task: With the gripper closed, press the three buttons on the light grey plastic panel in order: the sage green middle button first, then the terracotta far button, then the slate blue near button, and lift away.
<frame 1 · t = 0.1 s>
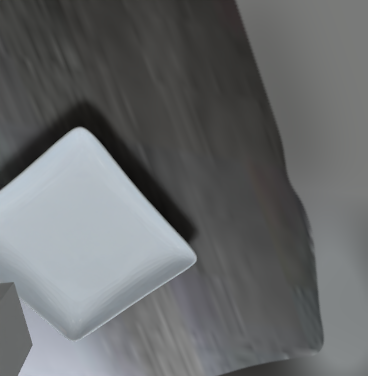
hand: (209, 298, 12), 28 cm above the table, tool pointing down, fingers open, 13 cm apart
salad plate: (83, 234, 42), on the table
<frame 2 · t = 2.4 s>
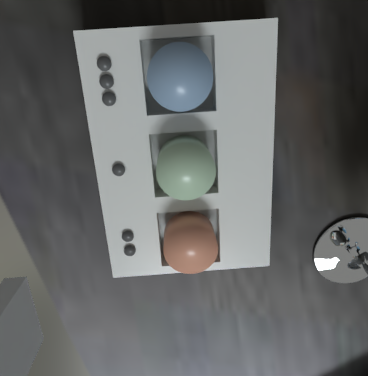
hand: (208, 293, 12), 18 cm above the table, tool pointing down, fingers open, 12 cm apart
slate button: (179, 77, 23), point 4 cm above the table, slide at 0.0 cm
wineglass: (349, 249, 33), on the table
button panel: (183, 154, 29), on the table
sage button: (185, 166, 26), point 4 cm above the table, slide at 0.0 cm
terracotta button: (189, 241, 28), point 4 cm above the table, slide at 0.0 cm
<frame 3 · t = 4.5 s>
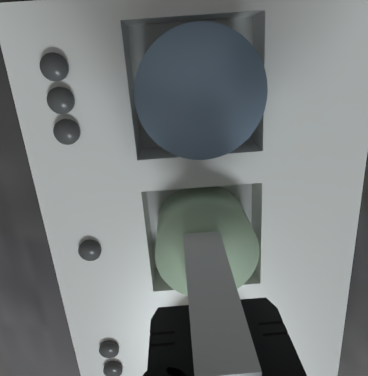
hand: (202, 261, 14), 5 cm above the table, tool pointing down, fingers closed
slate button: (198, 91, 12), point 4 cm above the table, slide at 0.0 cm
button panel: (199, 212, 18), on the table
sage button: (204, 239, 15), point 3 cm above the table, slide at 0.7 cm, touching gripper
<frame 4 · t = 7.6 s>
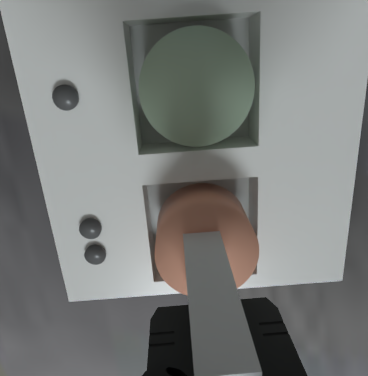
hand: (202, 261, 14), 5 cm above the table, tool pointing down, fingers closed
button panel: (191, 83, 16), on the table
sage button: (194, 87, 14), point 3 cm above the table, slide at 1.1 cm
terracotta button: (204, 238, 15), point 4 cm above the table, slide at 0.0 cm, touching gripper
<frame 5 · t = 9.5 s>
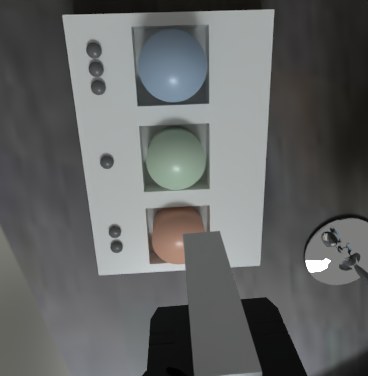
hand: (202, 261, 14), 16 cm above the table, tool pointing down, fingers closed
slate button: (172, 66, 23), point 4 cm above the table, slide at 0.0 cm
wineglass: (340, 250, 33), on the table
button panel: (174, 149, 28), on the table
sage button: (175, 157, 26), point 3 cm above the table, slide at 1.1 cm
terracotta button: (178, 232, 28), point 3 cm above the table, slide at 1.1 cm
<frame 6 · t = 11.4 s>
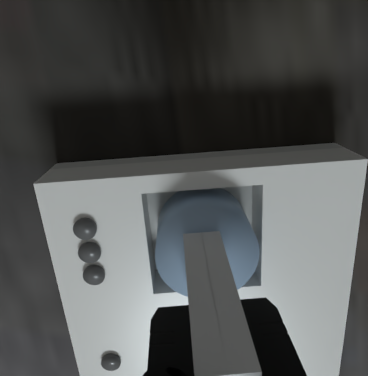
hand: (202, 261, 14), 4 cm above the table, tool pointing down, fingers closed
slate button: (204, 240, 15), point 3 cm above the table, slide at 0.8 cm, touching gripper
button panel: (205, 312, 20), on the table
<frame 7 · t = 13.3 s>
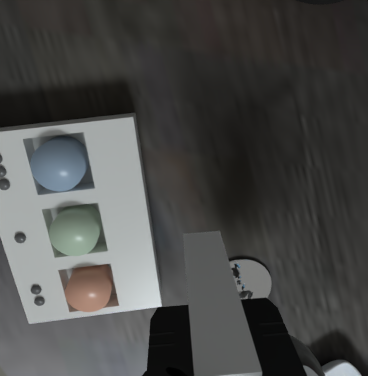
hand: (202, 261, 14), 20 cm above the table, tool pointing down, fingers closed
slate button: (61, 163, 30), point 3 cm above the table, slide at 1.1 cm
wineglass: (238, 284, 39), on the table
button panel: (82, 217, 35), on the table
sage button: (77, 228, 32), point 3 cm above the table, slide at 1.1 cm
terracotta button: (90, 285, 35), point 3 cm above the table, slide at 1.1 cm
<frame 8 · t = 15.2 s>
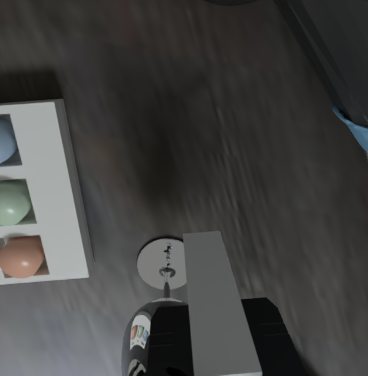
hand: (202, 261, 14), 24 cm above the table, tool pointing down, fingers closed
wineglass: (166, 262, 42), on the table
button panel: (18, 193, 38), on the table
sage button: (9, 201, 36), point 3 cm above the table, slide at 1.1 cm
terracotta button: (23, 254, 38), point 3 cm above the table, slide at 1.1 cm
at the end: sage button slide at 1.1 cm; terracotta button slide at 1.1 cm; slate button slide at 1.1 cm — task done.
